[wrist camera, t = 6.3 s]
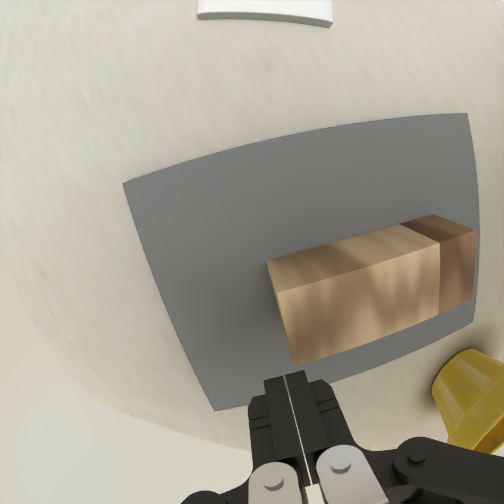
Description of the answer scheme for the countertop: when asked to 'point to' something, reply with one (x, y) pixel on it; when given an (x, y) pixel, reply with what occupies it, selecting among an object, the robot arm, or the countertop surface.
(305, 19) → the external hard drive
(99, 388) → the countertop surface
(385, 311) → the block
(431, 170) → the mat
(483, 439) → the plant pot
